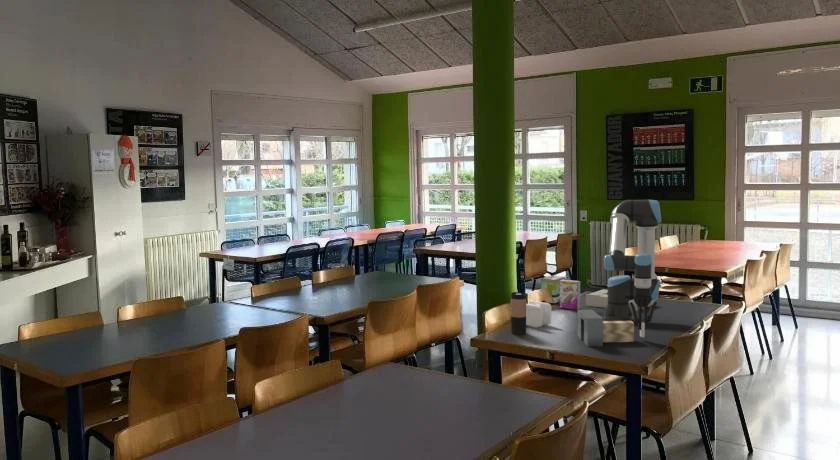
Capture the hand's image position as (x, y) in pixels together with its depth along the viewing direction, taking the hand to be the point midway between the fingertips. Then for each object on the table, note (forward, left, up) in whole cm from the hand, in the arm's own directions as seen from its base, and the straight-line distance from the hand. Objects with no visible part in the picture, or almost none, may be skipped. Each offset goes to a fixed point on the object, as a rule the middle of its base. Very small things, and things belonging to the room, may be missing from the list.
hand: (642, 336), depth 326 cm
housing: (+25, 0, -2) cm, 25 cm away
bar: (+14, 0, -2) cm, 14 cm away
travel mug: (+56, -18, -2) cm, 58 cm away
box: (-13, -86, -3) cm, 87 cm away
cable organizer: (+45, -35, -2) cm, 57 cm away
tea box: (+23, -103, -2) cm, 106 cm away
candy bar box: (+18, -78, -2) cm, 80 cm away
